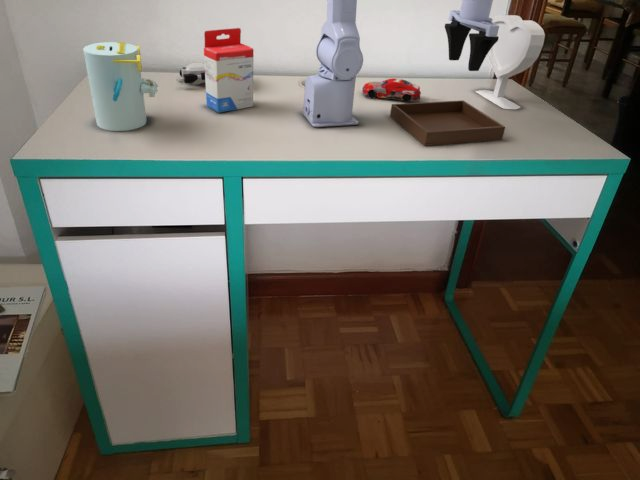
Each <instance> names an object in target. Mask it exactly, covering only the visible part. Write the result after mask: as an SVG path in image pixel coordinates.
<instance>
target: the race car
mask: <svg viewBox="0 0 640 480" xmlns="http://www.w3.org/2000/svg"><path fill="white" fill-rule="evenodd" d="M361 89H362V91H361V92H362V94H364V95H365V96H368V98H369V99H375V98H379V99H380V98H381V99H388V100H389V99H390V100H397V101H402V102H404V103H410V101H411V102H415V101H419V100H420V99H421V94H422V92H421V88H420V85H419V84H416V83H413V82H411V81H408V80H406V79H403V78H393V77H392V78H387V79H385V80H382V81H369V82H367V83H364V85H363V87H362V88H361Z"/></svg>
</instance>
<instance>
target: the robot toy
mask: <svg viewBox="0 0 640 480" xmlns="http://www.w3.org/2000/svg"><path fill="white" fill-rule="evenodd" d="M175 80H176V82H178V83H183V82H184V84H192V85H193V86H199V85H200V84H206V82H205V63H204V62H192V63H189V64H187V65H184V66H182V68H181V69H180V70H179V76H178V77H176V78H175Z"/></svg>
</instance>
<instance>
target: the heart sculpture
mask: <svg viewBox="0 0 640 480" xmlns="http://www.w3.org/2000/svg"><path fill="white" fill-rule="evenodd" d="M491 18H492V19H493V20H492V22H493V23H494V24H496V25H498V26H499V30H498V34H497V36H498V37H499V38H498V41H497V42H496V43H495V44H494V45H493V47H492V48H491V49H490V51H489V52H488V54H487V55H486V56H487V57H488V58H487V59H488V61H489V64H490V66H491V68H492V70H493V73H494V75H495V77H496V82H495V86H494V90H488V89H487V90H486V89H479V90H475V93H476V94H478V95H480V96H481V97H483V98H485V99H486V100H487V101H490V102H492V103H493V104H495V105H496V106H498V107H500V108H502V109H504V110H518V109H521V108H522V107H521V106H520V105H518V104H517V103H515V102H513V101H511V100H510V99H508V98H506V97H504V96H505V93H506V88H507V85H508V81H509V78H511V77H513V76H516V75H518V74H520V73H523V72H525V71H526V70H528V69H529V68H531V67H532V66H533V64H534V63H536V61H537V59H538V58H539V57H540V54H541V51H542V49H543V47H544V43H545V38H546V34H545V31H544V29H543V27H542V26H541V25H540V24H539V23H537V22H536V21H534V20H532V19H531V20H527V19H524V20H523V19H522V17H521V16H520V15H517V14H516V15H515V14H514V15H513V14H499V15H495V16H492V17H491Z"/></svg>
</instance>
